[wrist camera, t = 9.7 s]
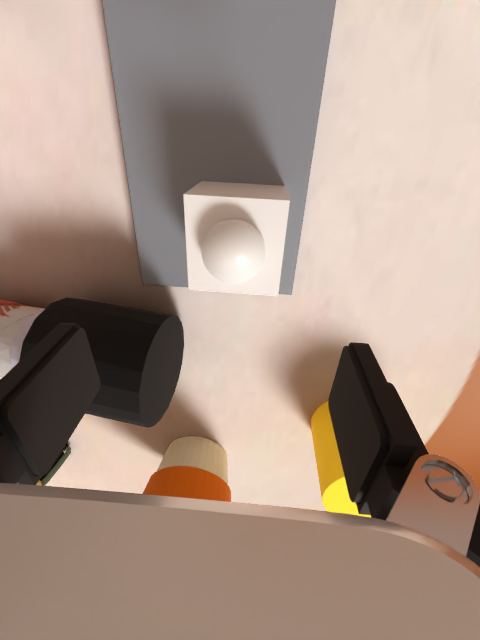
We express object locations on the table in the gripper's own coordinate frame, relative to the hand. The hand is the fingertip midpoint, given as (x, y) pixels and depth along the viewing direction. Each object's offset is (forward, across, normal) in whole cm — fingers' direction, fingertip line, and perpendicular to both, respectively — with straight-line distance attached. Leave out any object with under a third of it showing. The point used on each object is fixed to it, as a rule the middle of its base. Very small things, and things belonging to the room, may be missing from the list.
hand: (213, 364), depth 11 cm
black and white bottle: (+18, +23, +11) cm, 31 cm away
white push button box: (+17, 0, 0) cm, 17 cm away
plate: (+18, +2, -4) cm, 19 cm away
